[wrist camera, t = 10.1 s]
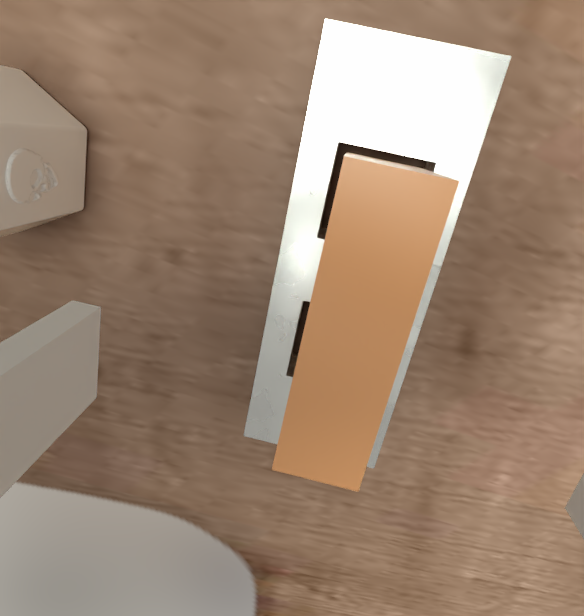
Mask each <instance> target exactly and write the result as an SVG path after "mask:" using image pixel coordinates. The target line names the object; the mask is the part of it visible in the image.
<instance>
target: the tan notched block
mask: <svg viewBox="0 0 584 616" xmlns="http://www.w3.org/2000/svg"><path fill="white" fill-rule="evenodd" d="M458 184H459V181H457V180H455V179H452V178H449V177H446V176H443V175H440V174H437V173H435V172H432V171H429V170H426V169H423V168H420V167H415V166H410V165H406V164H401V163H397V162H392V161H387V160H383V159H378V158H373V157H369V156H364V155H360V154H355V153H350V152H346V154H345V155H344V158H343V162H342V167H341V171H340V175H339V180H338V184H337V188H336V193H335V197H334V201H333V206H332V210H331V214H330V219H329V223H328V227H327V232H326V236H325V240H324V245H323V249H322V253H321V258H320V262H319V266H318V271H317V275H316V280H315V284H314V288H313V293H312V297H311V301H310V306H309V310H308V314H307V319H306V323H305V327H304V332H303V336H302V340H301V345H300V349H299V353H298V358H297V362H296V366H295V371H294V375H293V379H292V384H291V388H290V392H289V397H288V401H287V405H286V410H285V414H284V418H283V423H282V427H281V431H280V436H279V440H278V444H277V449H276V453H275V457H274V462H273V466H272V470H275V471H279V472H282V473H286V474H290V475H294V476H298V477H302V478H306V479H310V480H314V481H318V482H322V483H326V484H330V485H334V486H338V487H342V488H346V489H350V490H354V491H359V488H360V485H361V482H362V479H363V476H364V473H365V470H366V467H367V464H368V461H369V458H370V454H371V451H372V448H373V445H374V442H375V439H376V436H377V433H378V430H379V427H380V424H381V421H382V418H383V414H384V411H385V408H386V405H387V402H388V399H389V396H390V393H391V390H392V387H393V384H394V381H395V378H396V375H397V371H398V368H399V365H400V362H401V359H402V356H403V353H404V350H405V347H406V344H407V341H408V338H409V335H410V331H411V328H412V325H413V322H414V319H415V316H416V313H417V310H418V307H419V304H420V301H421V298H422V295H423V292H424V288H425V285H426V282H427V279H428V276H429V273H430V270H431V267H432V264H433V261H434V258H435V255H436V252H437V248H438V245H439V242H440V239H441V236H442V233H443V230H444V227H445V224H446V221H447V218H448V215H449V212H450V209H451V205H452V202H453V199H454V196H455V193H456V190H457V187H458Z"/></svg>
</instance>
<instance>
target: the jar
mask: <svg viewBox="0 0 584 616" xmlns="http://www.w3.org/2000/svg"><path fill="white" fill-rule="evenodd" d="M86 148H87V129H86V128H85V126H83V125H82V124H81V123H80V122H79V121H78V120H77V119H76V118H75V117H73V116H72V115H71V114H70V113H69V112H68V111H67V110H66V109H65V108H63V107H62V106H61V105H60V104H59V103H58V102H57V101H56V100H55V99H53V98H52V97H51V96H50V95H49V94H48V93H47V92H46V91H45V90H43V89H42V88H41V87H40V86H39V85H38V84H37V83H36V82H35V81H33V80H32V79H31V78H30V77H29V76H28V75H27V74H26V73H25V72H23V71H22V70H20V69H17V68H12V67H8V66H3V65H0V237H2V236H6V235H10V234H14V233H17V232H21V231H24V230H27V229H30V228H33V227H36V226H39V225H42V224H44V223H47V222H50V221H53V220H56V219H59V218H62V217H65V216H67V215H70V214H73V213H76V212H79V211H81V210H83V208H84V193H85V171H86Z"/></svg>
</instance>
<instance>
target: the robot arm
mask: <svg viewBox="0 0 584 616" xmlns="http://www.w3.org/2000/svg"><path fill="white" fill-rule="evenodd" d="M100 320H101V307H99V306H95V305H90V304H86V303H82V302H77V301H73V300H72V301H70V302H69V303H67V304H65V305H64V306H62V307H60V308H59V309H57V310H55V311H53V312H52V313H50V314H48V315H47V316H45V317H43V318H42V319H40V320H38V321H36V322H35V323H33V324H31V325H30V326H28V327H26V328H25V329H23V330H21V331H19V332H18V333H16V334H14V335H13V336H11V337H9V338H8V339H6V340H4V341H2V342H1V343H0V498H1V497H2V496H3V494H4V493H5V492H6V491H7V490H8V489H9V488H10V487H11V486H12V485H13V484H14V483H15V482H16V481H17V480H18V479H19V478H20V477H21V476H22V475H23V474H24V473H25V472H26V471H27V470H28V469H29V467H30V466H31V465H32V464H33V463H34V462H35V461H36V460H37V459H38V458H39V457H40V456H41V455H42V454H43V453H44V452H45V451H46V450H47V449H48V448H49V447H50V446H51V445H52V444H53V442H54V441H55V440H56V439H57V438H58V437H59V436H60V435H61V434H62V433H63V432H64V431H65V430H66V429H67V428H68V427H69V426H70V425H71V424H72V423H73V422H74V421H75V420H76V419H77V417H78V416H79V415H80V414H81V413H82V412H83V411H84V410H85V409H86V408H87V407H88V406H89V405H90V404H91V403H92V402H93V401H94V400H95V399H96V398H97V381H98V361H99V340H100ZM565 509H566V511H567V512H568V514H569V515H570V517H571V519H572V520H573V522H574V524H575V525H576V527H577V529H578V530H579V532H580V534H581V535H582V537H583V539H584V474H583V475H582V477H581V479H580V481H579V483H578V485H577V486H576V488H575V490H574V492H573V494H572V495H571V497H570V499H569V501H568V503H567V505H566V506H565Z"/></svg>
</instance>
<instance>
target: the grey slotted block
mask: <svg viewBox="0 0 584 616" xmlns="http://www.w3.org/2000/svg"><path fill="white" fill-rule="evenodd" d="M510 59H511V56H508V55H503V54H498V53H493V52H488V51H483V50H478V49H473V48H468V47H463V46H458V45H453V44H449V43H444V42H439V41H434V40H429V39H424V38H419V37H414V36H409V35H404V34H399V33H394V32H389V31H384V30H380V29H375V28H370V27H365V26H360V25H355V24H350V23H345V22H340V21H335V20H330V19H325V22H324V27H323V32H322V37H321V42H320V47H319V52H318V57H317V63H316V68H315V73H314V78H313V83H312V88H311V93H310V98H309V104H308V109H307V114H306V119H305V124H304V129H303V134H302V139H301V144H300V150H299V155H298V160H297V165H296V170H295V175H294V180H293V185H292V191H291V196H290V201H289V206H288V211H287V216H286V221H285V226H284V232H283V237H282V242H281V247H280V252H279V257H278V262H277V267H276V272H275V278H274V283H273V288H272V293H271V298H270V303H269V308H268V313H267V319H266V324H265V329H264V334H263V339H262V344H261V349H260V354H259V360H258V365H257V370H256V375H255V380H254V385H253V390H252V395H251V400H250V406H249V411H248V416H247V421H246V426H245V431H244V436H246V437H250V438H254V439H258V440H262V441H266V442H270V443H274V444H278V440H279V436H280V431H281V427H282V423H283V418H284V414H285V410H286V405H287V401H288V397H289V392H290V388H291V384H292V379H293V375H294V371H295V366H296V362H297V358H298V354H297V353H293V349H294V344H295V340H296V335H297V331H298V326H299V322H300V317H301V313H302V309H303V304H304V301H308V302H310V301H311V297H312V293H313V288H314V284H315V280H316V275H317V271H318V266H319V262H320V258H321V253H322V249H323V245H324V240H325V236H326V232H327V229H325V228H321V224H322V220H323V215H324V211H325V206H326V202H327V197H328V193H329V189H330V184H331V180H332V175H333V171H334V166H335V162H336V157H337V153H338V149H339V144H340V142H342V143H347V144H351V145H356V146H361V147H365V148H370V149H375V150H379V151H384V152H388V153H393V154H398V155H402V156H407V157H412V158H416V159H421V160H426V164H425V167H424V169H426V170H429V171H432V172H435V173H437V174H440V175H443V176H446V177H449V178H452V179H455V180H457V181H459V184H458V187H457V190H456V193H455V196H454V199H453V202H452V205H451V209H450V212H449V215H448V218H447V221H446V224H445V227H444V230H443V233H442V236H441V239H440V242H439V245H438V248H437V252H436V255H435V258H434V261H433V264H432V267H431V270H430V273H429V276H428V279H427V282H426V285H425V288H424V292H423V295H422V298H421V301H420V304H419V307H418V310H417V313H416V316H415V319H414V322H413V325H412V328H411V331H410V335H409V338H408V341H407V344H406V347H405V350H404V353H403V356H402V359H401V362H400V365H399V368H398V371H397V375H396V378H395V381H394V384H393V387H392V390H391V393H390V396H389V399H388V402H387V405H386V408H385V411H384V414H383V418H382V421H381V424H380V427H379V430H378V433H377V436H376V439H375V442H374V445H373V448H372V451H371V454H370V458H369V461H368V464H367V467H370V468H374V467H375V464H376V461H377V458H378V455H379V452H380V449H381V446H382V443H383V440H384V437H385V434H386V431H387V428H388V425H389V422H390V419H391V416H392V413H393V410H394V407H395V404H396V401H397V398H398V395H399V392H400V389H401V386H402V383H403V380H404V377H405V374H406V371H407V368H408V365H409V362H410V359H411V356H412V353H413V350H414V347H415V344H416V341H417V338H418V335H419V332H420V329H421V326H422V323H423V320H424V317H425V314H426V311H427V308H428V305H429V302H430V299H431V296H432V293H433V290H434V287H435V284H436V281H437V278H438V275H439V272H440V269H441V266H442V263H443V260H444V257H445V254H446V251H447V248H448V245H449V242H450V239H451V236H452V233H453V230H454V227H455V224H456V221H457V218H458V215H459V212H460V209H461V206H462V203H463V200H464V197H465V194H466V191H467V188H468V185H469V182H470V179H471V176H472V173H473V170H474V167H475V164H476V161H477V158H478V155H479V152H480V149H481V146H482V143H483V140H484V137H485V134H486V131H487V128H488V125H489V122H490V119H491V116H492V113H493V110H494V107H495V104H496V101H497V98H498V95H499V92H500V89H501V86H502V83H503V80H504V77H505V74H506V71H507V68H508V65H509V62H510Z"/></svg>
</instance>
